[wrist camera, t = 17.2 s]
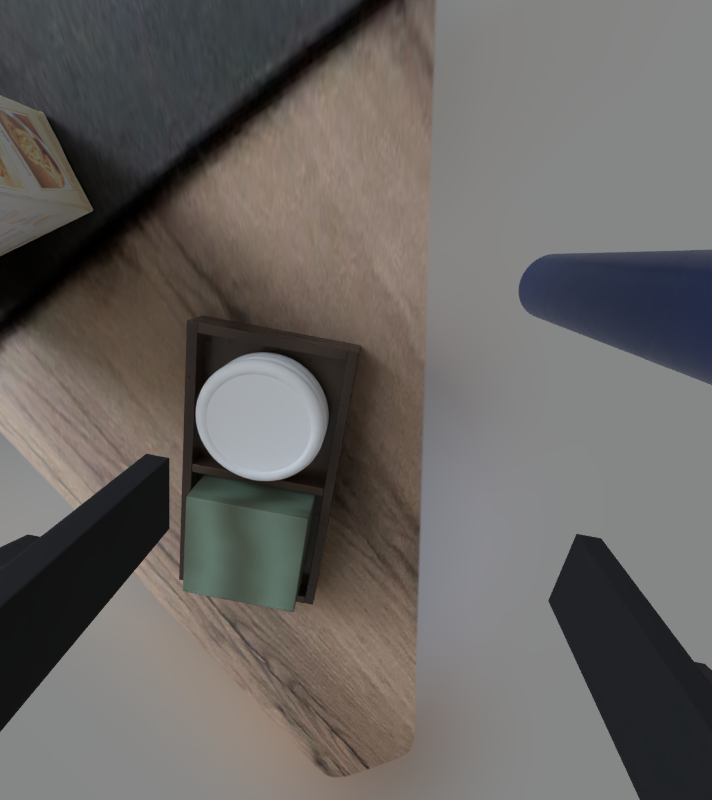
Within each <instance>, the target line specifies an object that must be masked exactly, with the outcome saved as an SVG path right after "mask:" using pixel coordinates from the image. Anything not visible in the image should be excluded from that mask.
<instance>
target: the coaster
mask: <svg viewBox="0 0 712 800" xmlns="http://www.w3.org/2000/svg"><path fill="white" fill-rule="evenodd" d="M195 416H196V425H197V429H198V433H199V435H200V438H201V440H202V442H203V444H204V446H205V447H206V449H207V450H208V452H209V453H210V454H211V455H212V457H213V458H214V459H215V460H216V461H217V462H218V463H220V464H221V465H222V466H223V467H225V468H226V469H228V470H229V471H231V472H233V473H235V474H236V475H239V476H241V477H244V478H248V479H251V480H257V481H275V480H281V479H284V478H287V477H290V476H292V475H295V474H296V473H298V472H300V471H301V470H303V469H304V468H305V467H306V466H308V465H309V464H310V463H311V462H312V461H313V460H314V458H315V457H316V455H317V454H318V452H319V450H320V448H321V446H322V443H323V440H324V437H325V434H326V431H327V427H328V422H329V410H328V403H327V400H326V396H325V394H324V392H323V389H322V388H321V386H320V384H319V382H318V381H317V380H316V378H315V377H314V376H313V374H312V373H311V372H310V371H309V370H308V369H306V368H305V367H304V366H303V365H301V364H300V363H298V362H297V361H295V360H293V359H291V358H289V357H286V356H283V355H280V354H276V353H270V352H257V353H250V354H246V355H243V356H240V357H238V358H236V359H234V360H232V361H231V362H229V363H228V364H226V365H225V366H223V367H222V368H220V369H219V370H218V371H216V372H215V373H214V374H213V375H212V376H211V377H210V378H209V379H208V380H207V381H206V383H205V384H204V386H203V387H202V389H201V391H200V394H199V397H198V399H197V404H196V415H195Z"/></svg>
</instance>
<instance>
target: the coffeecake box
mask: <svg viewBox="0 0 712 800" xmlns="http://www.w3.org/2000/svg"><path fill="white" fill-rule="evenodd" d="M92 211H93V208H92V206H91V204H90V202H89V200H88V199H87V197H86V195H85V193H84V191H83V189H82V187H81V185H80V184H79V182H78V180H77V178H76V176H75V174H74V172H73V170H72V168H71V166H70V164H69V162H68V160H67V158H66V156H65V154H64V152H63V150H62V147H61V145H60V143H59V141H58V139H57V137H56V135H55V134H54V132H53V130H52V128H51V126H50V124H49V122H48V120H47V118H46V116H45V114H44V113H43V112H40V111H39V112H38V111H36V110H34V109H31V108H29V107H27V106H24V105H22V104H19V103H17V102H15V101H12V100H10V99H7V98H5V97H3V96H0V256H2V255H4V254H6V253H8V252H10V251H12V250H14V249H16V248H18V247H20V246H23V245H25V244H26V243H28V242H30V241H33V240H35V239H37V238H39V237H41V236H43V235H45V234H47V233H49V232H51V231H53V230H55V229H57V228H59V227H61V226H63V225H65V224H68V223H70V222H72V221H74V220H76V219H78V218H80V217H82V216H84V215H86V214H88V213H90V212H92Z"/></svg>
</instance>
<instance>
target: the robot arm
mask: <svg viewBox="0 0 712 800" xmlns="http://www.w3.org/2000/svg"><path fill="white" fill-rule="evenodd" d="M168 529H169V458H165V457H160V456H154V455H149V454H146V455H144V456H143V457H142V458H140V459H139V460H138V461H137V462H135V463H134V464H133V465H132V466H130V467H129V468H128V469H126V470H125V471H124V472H123V473H121V474H120V475H119V476H118V477H116V478H115V479H114V480H112V481H111V482H110V483H109V484H107V485H106V486H105V487H104V488H102V489H101V490H100V491H98V492H97V493H96V494H95V495H93V496H92V497H91V498H90V499H88V500H87V501H86V502H84V503H83V504H82V505H81V506H79V507H78V508H77V509H76V510H74V511H73V512H72V513H71V514H69V515H68V516H67V517H65V518H64V519H63V520H62V521H60V522H59V523H58V524H56V525H55V526H54V527H53V528H52V529H50V530H49V531H48V532H46V533H45V534H44V535H42V536H41V537H38V536H33V535H26V536H24V537H22V538H19V539H17V540H15V541H13V542H11V543H8V544H7V545H4V546H2V547H0V731H1V730H2V729H3V728H4V726H5V725H6V724H7V723H8V722H9V721H10V719H11V718H12V717H13V716H14V715H15V713H16V712H17V711H18V710H19V708H20V707H21V706H22V705H23V704H24V702H25V701H26V700H27V699H28V698H29V697H30V695H31V694H32V693H33V692H34V691H35V689H36V688H37V687H38V686H39V685H40V683H41V682H42V681H43V679H44V678H45V677H46V676H47V675H48V674H49V672H50V671H51V670H52V669H53V668H54V667H55V665H56V664H57V663H58V662H59V660H60V659H61V658H62V657H63V656H64V654H65V653H66V652H67V651H68V650H69V648H70V647H71V646H72V645H73V644H74V642H75V641H76V640H77V639H78V638H79V636H80V635H81V634H82V633H83V632H84V630H85V629H86V628H87V627H88V626H89V624H90V623H91V622H92V621H93V620H94V618H95V617H96V616H97V615H98V614H99V612H100V611H101V610H102V609H103V608H104V606H105V605H106V604H107V603H108V602H109V600H110V599H111V598H112V597H113V595H114V594H115V593H116V592H117V591H118V590H119V588H120V587H121V586H122V585H123V583H124V582H125V581H126V580H127V579H128V578H129V576H130V575H131V574H132V573H133V572H134V570H135V569H136V568H137V567H138V566H139V564H140V563H141V562H142V561H143V560H144V558H145V557H146V556H147V555H148V553H149V552H150V551H151V550H152V549H153V547H154V546H155V545H156V544H157V543H158V541H159V540H160V539H161V538H162V537H163V535H164V534H165V533H166V532H167V531H168ZM549 603H550V605H551V607H552V609H553V612H554V614H555V616H556V618H557V620H558V623H559V625H560V627H561V629H562V631H563V634H564V636H565V638H566V640H567V642H568V644H569V647H570V649H571V651H572V653H573V655H574V657H575V659H576V662H577V664H578V666H579V668H580V670H581V673H582V675H583V677H584V679H585V681H586V683H587V686H588V688H589V690H590V692H591V694H592V696H593V699H594V701H595V703H596V705H597V707H598V710H599V712H600V714H601V716H602V718H603V720H604V723H605V725H606V727H607V729H608V731H609V733H610V736H611V737H612V740H613V742H614V744H615V747H616V748H617V751H618V753H619V755H620V757H621V760H622V762H623V764H624V766H625V768H626V770H627V773H628V775H629V777H630V779H631V781H632V783H633V786H634V788H635V790H636V792H637V794H638V797H639V799H640V800H712V670H711V669H710V668H708V667H707V666H706V665H705V664H702V663H697V662H694V661H693V660H692V659H691V657H690V656H689V655H688V653H687V652H686V651H685V649H684V648H683V647H682V645H681V644H680V643H679V641H678V640H677V639H676V637H675V636H674V635H673V634H672V632H671V631H670V629H669V628H668V627H667V625H666V624H665V623H664V621H663V620H662V619H661V617H660V616H659V615H658V613H657V612H656V611H655V610H654V608H653V607H652V606H651V604H650V603H649V601H648V600H647V599H646V598H645V596H644V595H643V594H642V592H641V591H640V590H639V588H638V587H637V586H636V584H635V583H634V582H633V580H632V579H631V578H630V576H629V575H628V574H627V572H626V571H625V570H624V568H623V567H622V566H621V564H620V563H619V562H618V560H617V559H616V558H615V556H614V555H613V554H612V552H611V551H610V550H609V548H608V547H607V546H606V544H605V543H604V542H603V540H602V539H601V538H595V537H590V536H585V535H579V534H576V537H575V539H574V541H573V544H572V546H571V549H570V551H569V553H568V556H567V558H566V561H565V563H564V565H563V567H562V570H561V572H560V575H559V577H558V579H557V582H556V584H555V587H554V589H553V592H552V594H551V596H550V598H549Z"/></svg>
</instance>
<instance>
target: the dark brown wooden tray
mask: <svg viewBox="0 0 712 800" xmlns="http://www.w3.org/2000/svg"><path fill="white" fill-rule="evenodd" d="M257 352H270V353H276V354H280V355H283V356H286V357H289V358H291V359H293V360H295V361H297V362H298V363H300V364H301V365H303V366H304V367H305V368H306V369H308V370H309V371H310V372H311V373H312V374H313V376H314V377H315V378H316V380H317V381H318V382H319V384H320V386H321V388H322V389H323V392H324V394H325V396H326V400H327V403H328V410H329V422H328V427H327V431H326V434H325V437H324V440H323V443H322V446H321V448H320V450H319V452H318V454H317V455H316V457H315V458H314V460H313V461H312V462H311V463H310V464H309V465H308V466H306V467H305V468H304V469H303V470H301V471H300V472H298V473H296V474H295V475H292V476H290V477H287V478H284V479H281V480H275V481H257V480H251V479H248V478H244V477H241V476H239V475H236V474H235V473H233V472H231V471H229V470H228V469H226V468H225V467H223V466H222V465H221V464H220V463H218V462H217V461H216V460H215V459H214V458H213V457H212V455H211V454H210V453H209V452H208V450H207V449H206V447H205V446H204V444H203V442H202V440H201V438H200V435H199V433H198V429H197V425H196V416H195V415H196V404H197V399H198V397H199V394H200V391H201V389H202V387H203V386H204V384H205V383H206V381H207V380H208V379H209V378H210V377H211V376H212V375H213V374H214V373H215V372H216V371H218V370H219V369H220V368H222V367H223V366H225V365H226V364H228V363H229V362H231V361H232V360H234V359H236V358H238V357H240V356H243V355H246V354H250V353H257ZM359 352H360V345H355V344H350V343H345V342H339V341H334V340H329V339H324V338H318V337H313V336H308V335H302V334H297V333H292V332H286V331H281V330H276V329H270V328H265V327H260V326H255V325H249V324H244V323H239V322H233V321H228V320H223V319H217V318H212V317H207V316H200V317H197V318H194V319H191V320H188V321H187V344H186V377H185V410H184V443H183V476H182V509H181V542H180V575H179V579H180V580H183V591H185V592H190V593H195V594H201V595H206V596H211V597H216V598H222V599H227V600H232V601H238V602H243V603H248V604H253V605H259V606H264V607H269V608H275V609H280V610H285V611H290V612H294V608H295V605H296V602H301V603H307V604H313V601H314V596H315V591H316V586H317V581H318V575H319V570H320V564H321V559H322V553H323V548H324V543H325V537H326V532H327V526H328V521H329V515H330V510H331V504H332V499H333V493H334V488H335V483H336V477H337V472H338V466H339V461H340V455H341V450H342V444H343V439H344V433H345V428H346V423H347V417H348V412H349V406H350V401H351V395H352V390H353V384H354V379H355V373H356V368H357V362H358V357H359Z"/></svg>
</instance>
